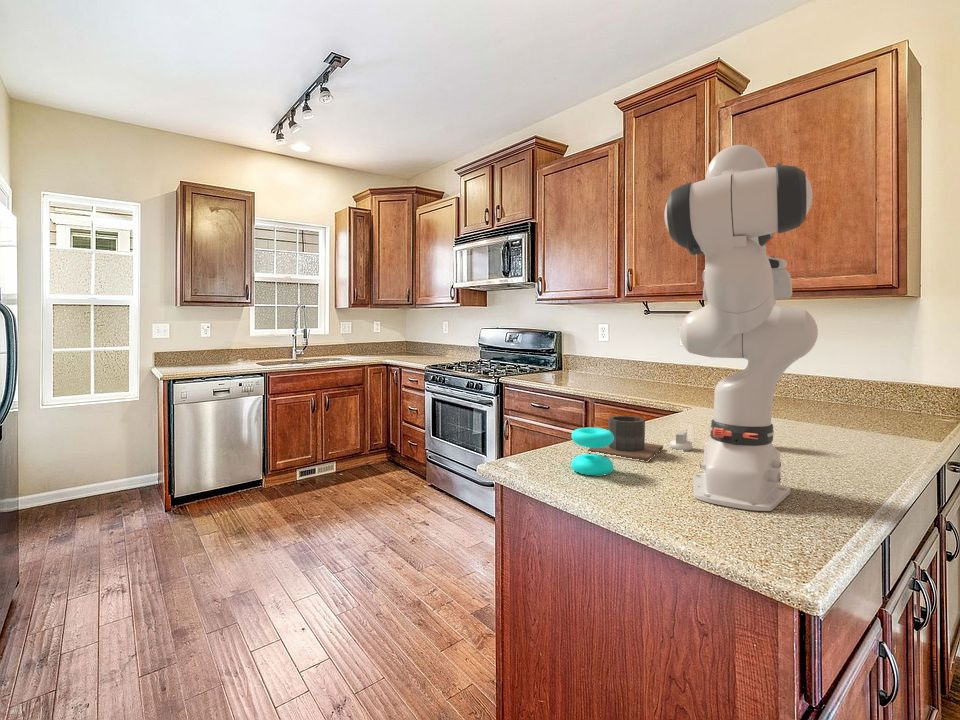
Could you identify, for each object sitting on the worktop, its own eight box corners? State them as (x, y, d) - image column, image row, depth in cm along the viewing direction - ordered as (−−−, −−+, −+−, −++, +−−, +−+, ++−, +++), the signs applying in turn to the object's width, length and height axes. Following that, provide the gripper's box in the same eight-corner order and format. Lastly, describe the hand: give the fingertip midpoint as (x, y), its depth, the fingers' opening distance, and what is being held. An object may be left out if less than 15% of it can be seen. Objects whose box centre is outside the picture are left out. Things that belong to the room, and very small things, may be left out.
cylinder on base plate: (647, 462, 127) (648, 427, 127) (588, 453, 136) (588, 420, 136) (663, 449, 141) (663, 417, 140) (608, 442, 150) (608, 411, 149)
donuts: (567, 426, 124) (606, 426, 124) (566, 465, 125) (606, 465, 125) (577, 435, 114) (620, 434, 115) (576, 478, 115) (619, 477, 115)
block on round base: (689, 452, 138) (690, 436, 137) (668, 449, 141) (668, 433, 141) (693, 448, 142) (694, 432, 142) (672, 445, 146) (673, 430, 145)
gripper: (700, 266, 130) (700, 319, 132) (792, 260, 118) (790, 318, 120) (704, 266, 135) (704, 317, 137) (793, 260, 123) (792, 316, 125)
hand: (745, 317), depth 129 cm, fingers open, 8 cm apart
